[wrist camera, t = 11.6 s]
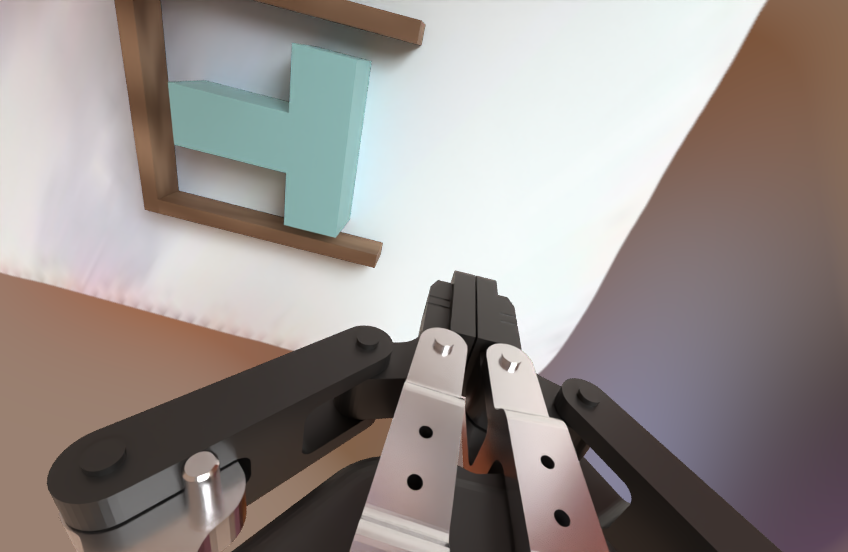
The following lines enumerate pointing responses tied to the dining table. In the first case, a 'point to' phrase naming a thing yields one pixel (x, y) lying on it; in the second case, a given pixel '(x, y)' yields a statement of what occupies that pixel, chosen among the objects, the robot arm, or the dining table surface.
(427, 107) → the dining table surface
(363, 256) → the bay
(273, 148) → the T-block
